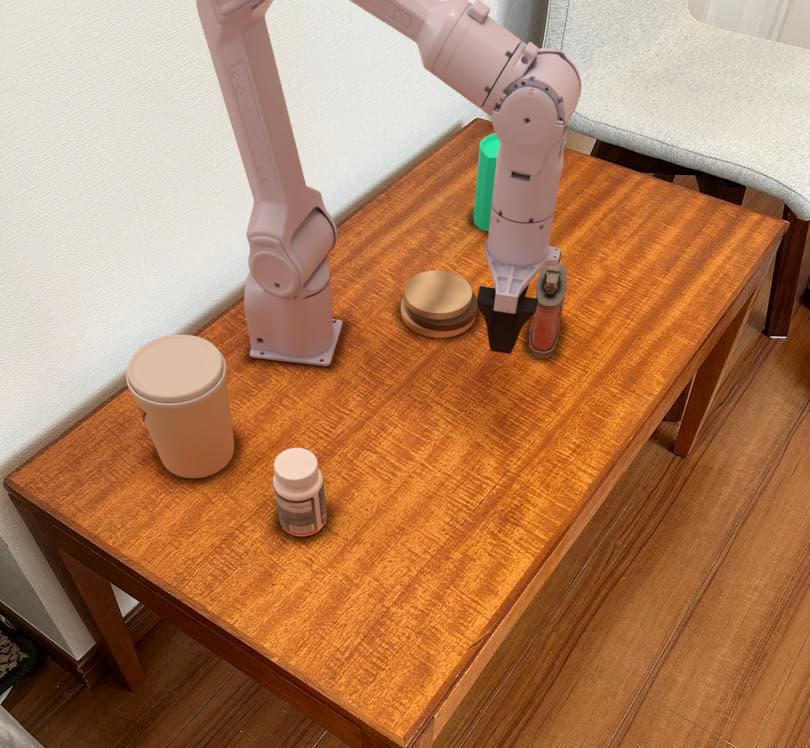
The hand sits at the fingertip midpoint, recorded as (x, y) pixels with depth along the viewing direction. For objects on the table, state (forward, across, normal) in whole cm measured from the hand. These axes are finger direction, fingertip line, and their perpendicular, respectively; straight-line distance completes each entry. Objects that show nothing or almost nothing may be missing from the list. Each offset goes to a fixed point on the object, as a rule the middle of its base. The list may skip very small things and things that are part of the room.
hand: (506, 326), depth 87 cm
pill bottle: (+10, -22, +16) cm, 29 cm away
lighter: (+10, +12, -4) cm, 16 cm away
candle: (+10, +34, +5) cm, 36 cm away
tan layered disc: (+10, +13, +9) cm, 19 cm away
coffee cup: (+10, -15, +30) cm, 35 cm away
